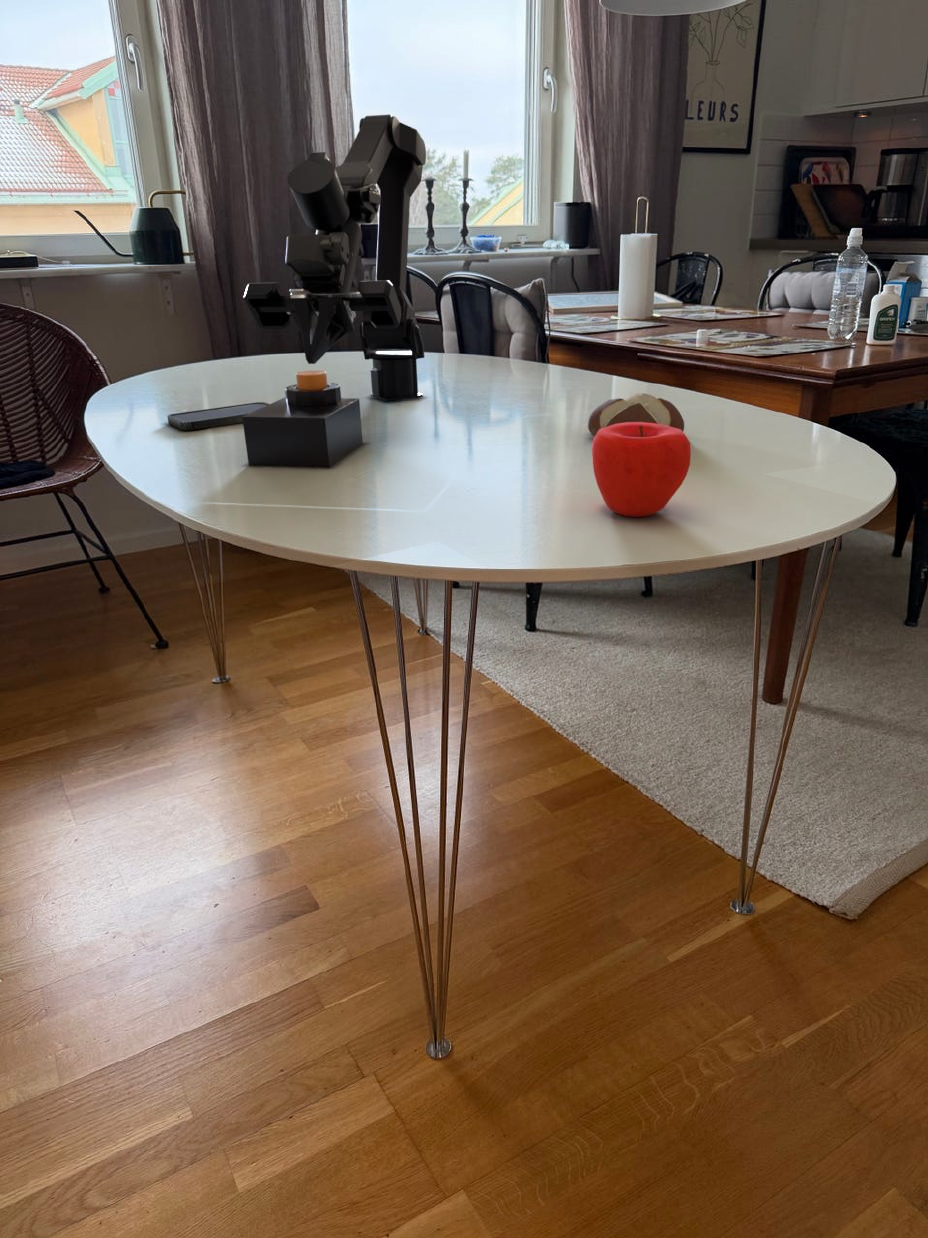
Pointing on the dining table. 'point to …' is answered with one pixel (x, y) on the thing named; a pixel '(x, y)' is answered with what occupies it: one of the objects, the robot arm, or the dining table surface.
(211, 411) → the phone
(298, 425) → the black switch box
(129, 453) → the dining table surface
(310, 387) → the button
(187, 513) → the dining table surface
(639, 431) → the apple
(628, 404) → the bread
